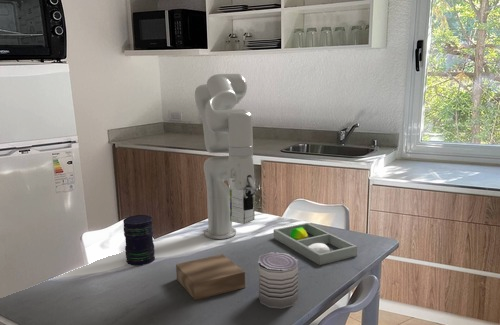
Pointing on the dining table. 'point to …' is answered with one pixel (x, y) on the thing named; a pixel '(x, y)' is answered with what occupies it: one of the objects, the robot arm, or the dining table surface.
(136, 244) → the storage jar
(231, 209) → the syrup box
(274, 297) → the can
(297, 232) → the apple
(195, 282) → the base block
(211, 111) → the robot arm
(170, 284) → the dining table surface
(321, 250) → the garlic
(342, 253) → the fruit tray
